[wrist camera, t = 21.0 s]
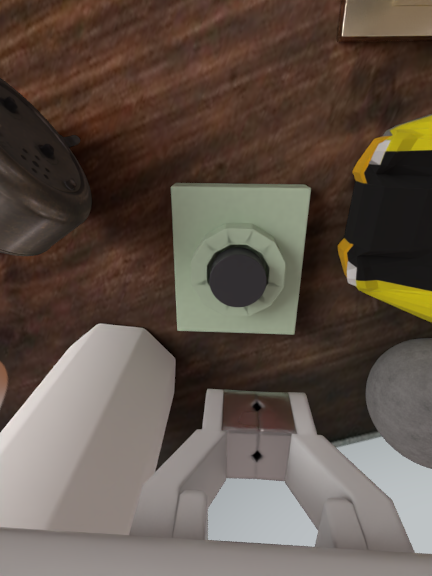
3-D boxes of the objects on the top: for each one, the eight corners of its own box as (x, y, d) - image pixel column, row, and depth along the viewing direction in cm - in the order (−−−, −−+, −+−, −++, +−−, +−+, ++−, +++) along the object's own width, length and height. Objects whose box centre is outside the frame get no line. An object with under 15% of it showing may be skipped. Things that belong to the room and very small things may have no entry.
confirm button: (210, 246, 24) (209, 253, 23) (266, 247, 24) (268, 255, 23) (210, 296, 26) (209, 306, 24) (263, 298, 26) (264, 308, 24)
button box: (175, 182, 26) (165, 189, 22) (305, 184, 26) (317, 191, 22) (181, 318, 31) (173, 342, 27) (290, 322, 30) (298, 346, 27)
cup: (152, 427, 36) (81, 675, 20) (54, 386, 35) (-117, 617, 18) (197, 351, 32) (156, 583, 15) (88, 301, 31) (-92, 497, 14)
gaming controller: (511, 106, 23) (363, 99, 23) (589, 96, 18) (398, 87, 18) (441, 303, 29) (324, 296, 29) (485, 337, 24) (343, 327, 24)
